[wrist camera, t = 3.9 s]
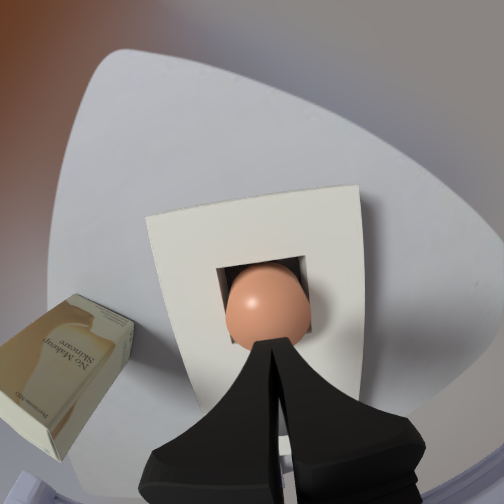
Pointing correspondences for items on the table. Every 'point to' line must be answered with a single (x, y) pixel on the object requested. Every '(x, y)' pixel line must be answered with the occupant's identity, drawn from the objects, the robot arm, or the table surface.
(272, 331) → the terracotta button
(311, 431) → the robot arm
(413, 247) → the table surface
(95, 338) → the skincare box
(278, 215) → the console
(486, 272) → the table surface
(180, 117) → the table surface
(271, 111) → the table surface
